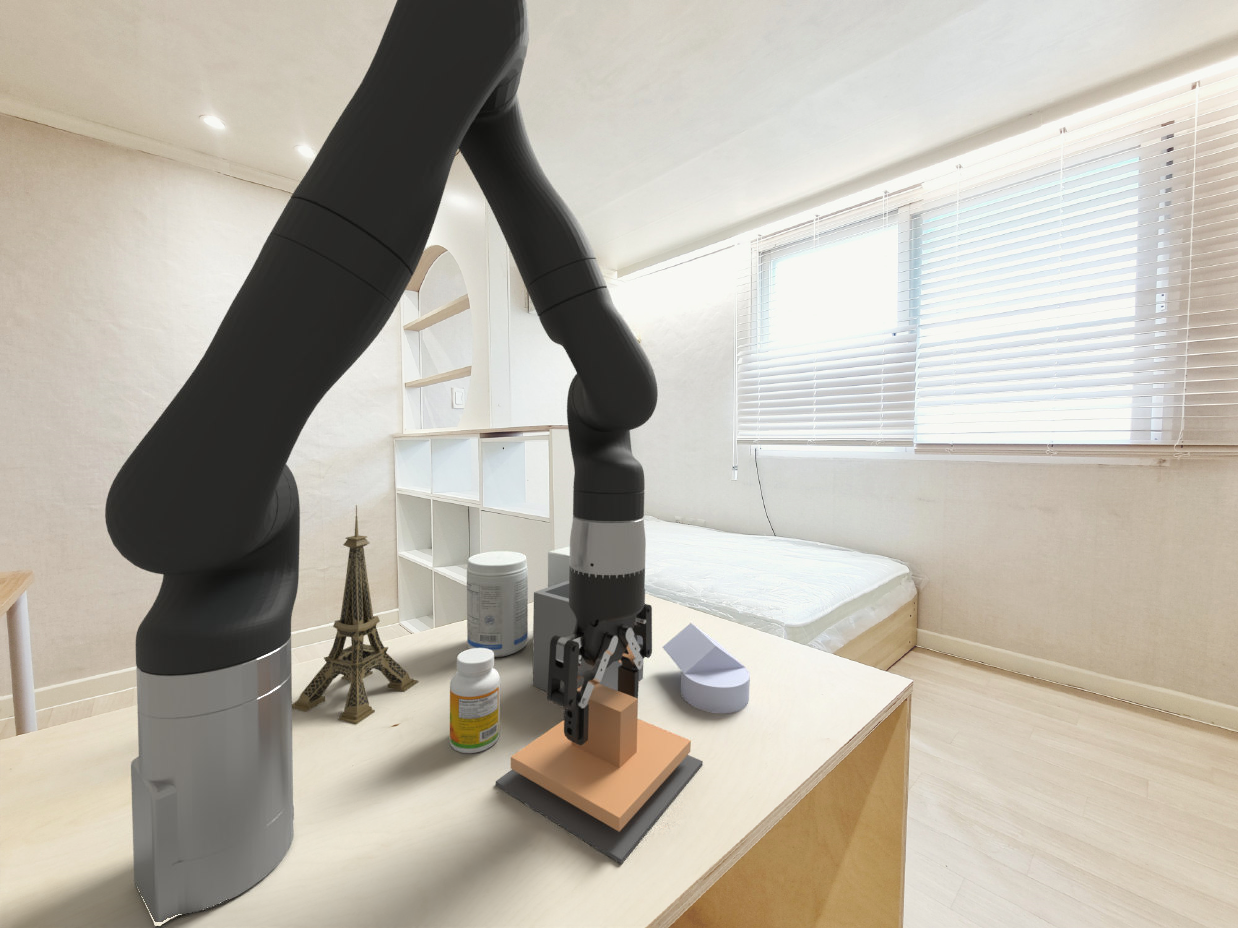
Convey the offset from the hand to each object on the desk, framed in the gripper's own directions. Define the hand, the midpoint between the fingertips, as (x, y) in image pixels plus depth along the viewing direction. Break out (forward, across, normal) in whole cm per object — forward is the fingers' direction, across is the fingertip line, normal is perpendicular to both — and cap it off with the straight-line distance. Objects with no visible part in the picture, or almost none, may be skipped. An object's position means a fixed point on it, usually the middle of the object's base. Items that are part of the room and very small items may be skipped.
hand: (604, 719), depth 49 cm
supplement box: (+6, +26, +24) cm, 36 cm away
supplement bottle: (+6, -4, +15) cm, 17 cm away
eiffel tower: (+6, -7, +35) cm, 36 cm away
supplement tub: (+6, +14, +32) cm, 35 cm away
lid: (+5, 0, 0) cm, 5 cm away
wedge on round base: (+6, +23, -1) cm, 24 cm away
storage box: (+6, +14, +13) cm, 20 cm away
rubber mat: (+6, 0, 0) cm, 6 cm away
